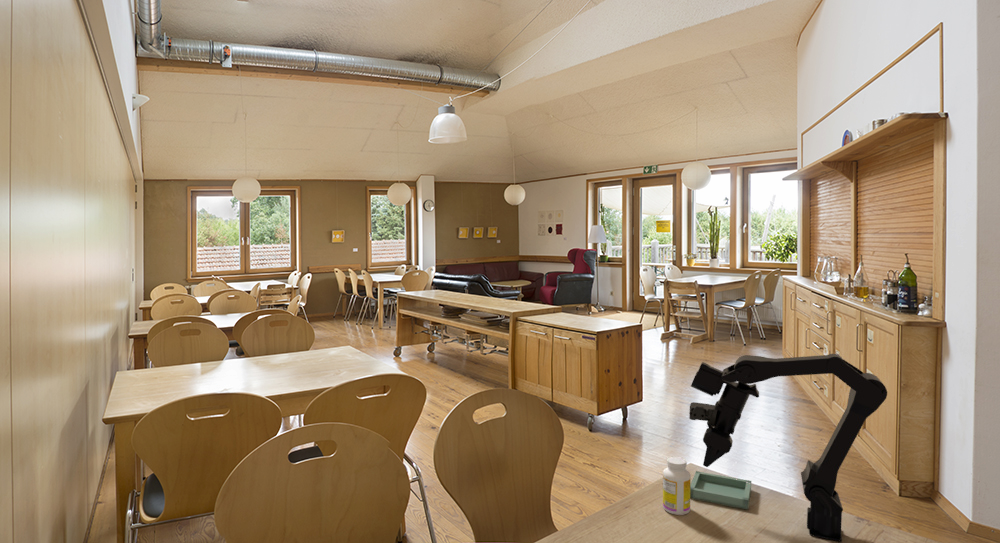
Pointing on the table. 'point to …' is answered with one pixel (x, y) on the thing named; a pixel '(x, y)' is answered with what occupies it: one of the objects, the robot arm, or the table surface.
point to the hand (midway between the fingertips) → (706, 459)
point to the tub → (720, 490)
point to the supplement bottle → (676, 486)
